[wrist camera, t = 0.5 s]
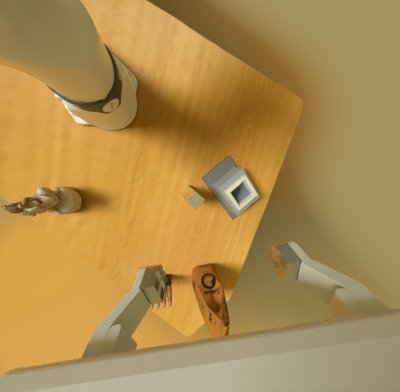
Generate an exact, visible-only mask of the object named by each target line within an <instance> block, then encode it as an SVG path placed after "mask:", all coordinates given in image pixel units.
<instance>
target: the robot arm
mask: <svg viewBox="0 0 400 392" xmlns="http://www.w3.org/2000/svg"><path fill="white" fill-rule="evenodd" d="M0 65H4V66H7V67H11V68H14V69H17V70H20V71H22V72H25V73H27V74H29V75H31V76H32V77H34V78H36V79H37V80H39V81H41V82H43V83H44V84H45V85H46V86H47V87H49V88H50V89H51V90H52V91H53V92H54V93H55V94H54V95H55V97H56V98H57V99H58V100H59V101H62V102H63V104H64V105H65V107H66V108H67V110H68V111H69V112H70V114H71V115H72V117H73V118H74V120H75V121H76V122H77V123H79V124H80V125H93V126H97V127H100V128H102V129H106V130H118V129H122V128H124V127H126V126H128V125H129V124H130V123H131V122H132V121H133V119H134V117H135V115H136V112H137V98H136V90H137V86H138V81H137V79H136V77H135V76H134V75H133V74H132V73H131V72H130V71H129V70H128V69H127V68H126V67H125V66H124V65H123V64H122V63H121V62H120V61H119V60H118V59H117V58H116V57H115V56H114V55H113V54H112V53H111V52H110V51H109V49H108V48H107V46H106V45H105V44H104V43H103V41H102V39H101V37H100V35H99V33H98V31H97V29H96V26H95V24H94V22H93V20H92V18H91V16H90V14H89V13H88V11H87V9H86V8H85V7H84V5H83V4H82V3H81V1H80V0H0ZM271 250H272V252H271V260H272V262H273V264H274V266H275V267H276V268H278V269H279V274H280V276H281V278H282V279H283V281H284V282H287V281H295V280H297V281H298V282H299V283H300V284H302V285H303V286H304V287H306V288H307V289H308V290H310V291H311V292H312V293H314V294H315V295H316V296H318V297H319V298H320V299H322V300H323V301H324V302H326V303H327V304H329V307H328V310H327V313H326V315H327V317H328V318H329V320H323V321H316V322H310V323H304V324H298V325H291V326H284V327H278V328H272V329H265V330H259V331H253V332H246V333H239V334H233V335H227V336H220V337H214V338H207V339H202V340H194V341H188V342H182V343H175V344H169V345H163V346H156V347H150V348H143V349H137V350H136V347H137V343H136V342H135V341H134V339H133V338H132V337H131V336H132V335H133V333H134V331H135V330H136V328H137V327H138V325H139V324H140V322H141V320H142V319H143V317H144V316H145V314H146V312H147V311H148V309H149V308H150V306H151V304H156V303H161V302H163V298H164V290H163V288H164V287H165V285H166V274H165V271H163V270H162V269H163V267H162V265H154V266H148V267H142V268H140V269H139V271H138V273H137V276H136V279H135V282H134V284H133V287H132V290H131V291H129V292H128V293H127V294H126V295H125V296H124V297H123V298H122V300H121V301H120V302H119V303H118V304H117V305H116V306H115V307H114V308H113V309H112V310H111V312H110V313H109V314H108V315H107V316H106V317H105V318H104V319H103V320H102V321H101V322H100V324H99V325H98V326H97V327H96V329H95V330H94V333H93V335H92V337H91V339H90V341H89V343H88V345H87V347H86V349H85V351H84V353H83V356H82V358H79V359H73V360H67V361H60V362H54V363H48V364H42V365H35V366H29V367H21V368H16V369H12V370H10V371H8V372H6V373H5V374H3V375H2V376H1V377H0V392H400V309H394V310H390V309H389V308H388V307H387V306H386V305H385V304H384V303H382V302H381V301H380V300H379V299H378V298H377V297H376V296H375V295H374V294H373V293H372V292H370V291H369V290H368V289H367V288H366V287H365V286H364V285H363V284H361V283H359V282H357V281H355V280H353V279H351V278H349V277H347V276H345V275H343V274H341V273H339V272H337V271H335V270H333V269H331V268H329V267H327V266H325V265H323V264H321V263H319V262H317V261H315V260H311V259H310V258H309V257H308V256H307V255H306V254H305V253H304V251H303V250H302V249H301V248H300V247H299V246H298V245H297V244H296V243H295V242H294V241H291V242H286V243H280V244H274V245H272V246H271Z"/></svg>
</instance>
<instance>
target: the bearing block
mask: <svg viewBox="0 0 400 392" xmlns="http://www.w3.org/2000/svg"><path fill="white" fill-rule="evenodd" d="M243 175H246V177H247V178H248V180H249V181H250V183H251V185H252V186H253V188H254V190H255V191H256V193H257V194H258V192H257V190H256V189H255V187H254V185H253V184H252V182H251V180H250V179H249V177H248V175H247V174H246V172H245V171H244V169H243V168H237V167H236V165H235V164H234V162H233V160H232V159H231V157H230V156H228V157H227V158H225V159H224V160H223V161H222V162H220V163H219V164H218V165H217V166H216V167H214V168H213V169H212V170H211V171H210V172H208V173H207V174H206V175H205V176H204V177H202V179H203V181H204V182H205V183H206V185H207V186H208V187H209V189H210V190H211V191H212V193H213V194H214V195H215V197H216V198H217V199H218V201H219V202H220V203H221V205H222V206H223V207H224V209H225V210H226V211H227V213H228V214H229V215H230V217H231V218H232V219H234V218H235V217H237V216H239V215H240V214H241V213H242V212H243V211H244V210H246V209H247V208H248V207H249V206H250V205H251V204H252V203H254V202H255V201H256V200H257V199H258V198H259V197H260V195H259V194H258V195H257V196H256V197H255V198H254V199H252V200H251V201H250V202H249V203H248V204H247V205H245V206H244V207H243V208H242V209H241V210H240V211H238V210H237V209H236V207H235V206H234V205H233V203H232V202H231V200H230V199H229V198H228V196H227V195H226V193H225V192H224V191H225V190H226V189H228V188H229V187H230V186H231V185H232V184H234V183H235V182H236V181H237V180H238V179H240V178H241V177H242V176H243ZM230 193H231V195H232V196H233V198H234V199H235V200H236V202H237V203H238V205H239V204H240V203H242V202H243V201H244V200H245V199H246V198H247V197H249V196H250V195H251V194H252V193H251V192H250V190H249V189H248V187H247V186H246V184H245V182H244V181H243V182H242V183H241V184H240V185H238V186H237V187H236V188H235V189H234V190H233V191H231V192H230Z"/></svg>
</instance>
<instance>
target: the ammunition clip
mask: <svg viewBox="0 0 400 392" xmlns="http://www.w3.org/2000/svg"><path fill="white" fill-rule="evenodd" d="M166 286H167V287H166ZM163 290H164V298H163V302H162V305H163V307H164V308H165V305H166V290H167V297H168V304H169V307H171V304H172V287H171V274H166V285H165V287H164V288H163ZM153 306H154V304H151V306H150V308H151V310H152V309H153ZM156 306H157V309H158V308H159V306H160V303H156Z"/></svg>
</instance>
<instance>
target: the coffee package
mask: <svg viewBox="0 0 400 392" xmlns="http://www.w3.org/2000/svg"><path fill="white" fill-rule="evenodd" d="M192 272H193V274H192V276H193V281H192V284H193V288H194V292H195V296H196V299H197V302H198V305H199V308H200V311H201V313H202V316H203V318H204V321H205V323H206V326H207V328H208V330H209V333H210V334H211V336H212V337H213V338H214V337H220V336H227V335H228V332H229V315H228V310H227V304H226V299H225V295H224V291H223V288H222V285H221V283H220V281H219V279H218V277H217V275H216V273H215V271H214V269H213V266H212V265H211V264H207V265H203V266H197V267H196V268H194V269H193V271H192Z"/></svg>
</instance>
